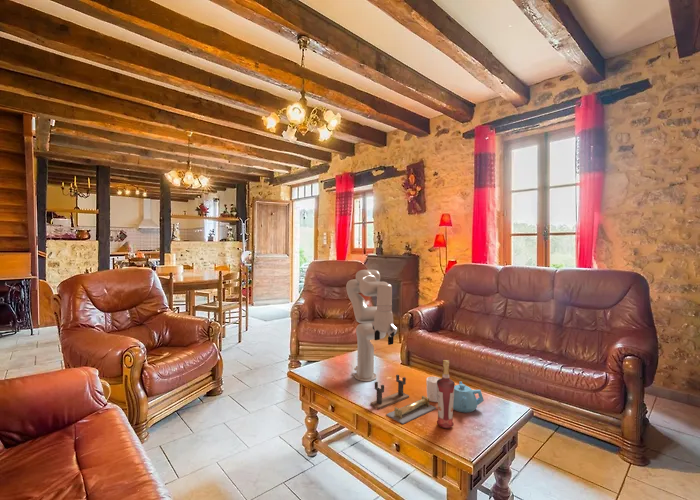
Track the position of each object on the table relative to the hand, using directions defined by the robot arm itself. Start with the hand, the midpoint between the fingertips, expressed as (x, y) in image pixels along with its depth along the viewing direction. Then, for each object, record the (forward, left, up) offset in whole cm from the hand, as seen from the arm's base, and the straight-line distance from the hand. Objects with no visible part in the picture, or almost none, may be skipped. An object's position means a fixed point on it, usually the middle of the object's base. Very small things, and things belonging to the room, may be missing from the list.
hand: (383, 342), depth 174 cm
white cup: (+17, +19, -28) cm, 38 cm away
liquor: (+36, +2, -28) cm, 46 cm away
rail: (+19, 0, -28) cm, 34 cm away
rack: (+5, 0, -28) cm, 29 cm away
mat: (+19, 0, -28) cm, 34 cm away
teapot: (+30, +23, -29) cm, 47 cm away
